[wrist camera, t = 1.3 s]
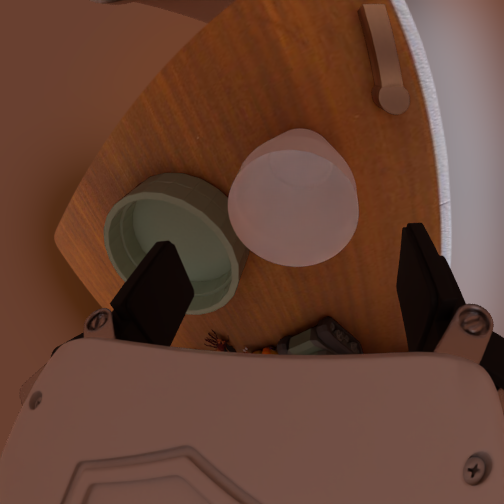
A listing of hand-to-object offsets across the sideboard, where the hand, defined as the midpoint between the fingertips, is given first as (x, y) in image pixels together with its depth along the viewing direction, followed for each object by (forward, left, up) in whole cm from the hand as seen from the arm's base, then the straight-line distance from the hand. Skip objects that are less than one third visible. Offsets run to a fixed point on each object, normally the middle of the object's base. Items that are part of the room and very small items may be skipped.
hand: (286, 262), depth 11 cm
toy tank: (+32, -1, -20) cm, 37 cm away
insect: (+31, -22, -19) cm, 42 cm away
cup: (+2, -1, -20) cm, 20 cm away
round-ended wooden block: (-8, +9, -20) cm, 23 cm away
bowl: (+9, -17, -20) cm, 28 cm away
